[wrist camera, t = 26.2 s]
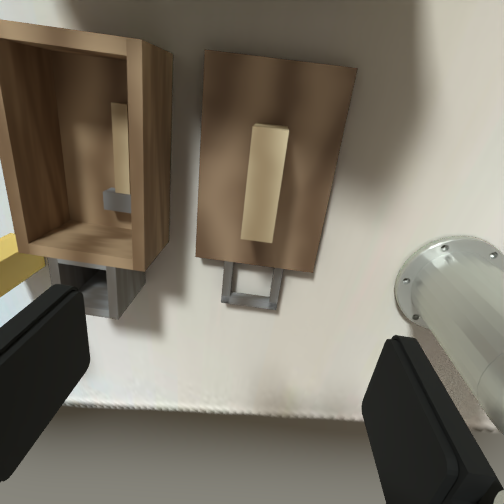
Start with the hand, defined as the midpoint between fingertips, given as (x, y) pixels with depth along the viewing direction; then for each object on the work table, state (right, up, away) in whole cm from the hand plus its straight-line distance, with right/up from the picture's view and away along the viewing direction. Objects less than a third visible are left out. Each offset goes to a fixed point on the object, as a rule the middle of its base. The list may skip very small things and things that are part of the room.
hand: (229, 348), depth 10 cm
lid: (+2, +9, +27) cm, 29 cm away
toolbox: (-15, +11, +27) cm, 33 cm away
